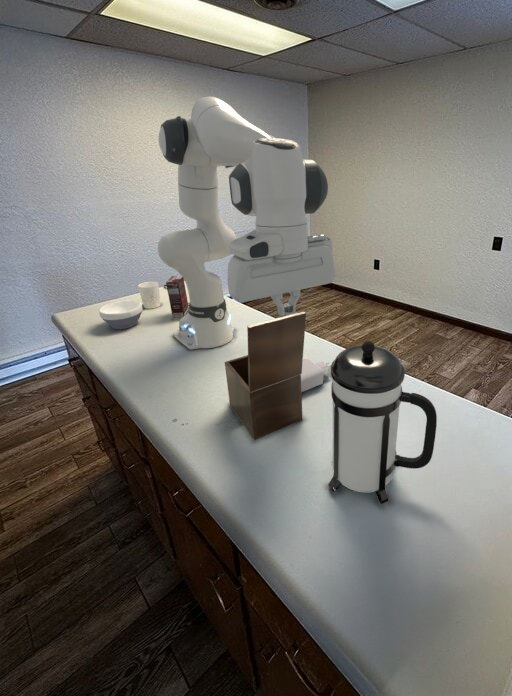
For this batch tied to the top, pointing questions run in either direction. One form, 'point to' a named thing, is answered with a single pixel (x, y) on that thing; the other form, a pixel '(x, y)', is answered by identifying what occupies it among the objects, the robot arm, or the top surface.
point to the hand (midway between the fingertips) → (286, 313)
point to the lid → (275, 350)
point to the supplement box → (177, 297)
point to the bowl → (121, 313)
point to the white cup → (150, 294)
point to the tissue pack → (312, 374)
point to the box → (263, 400)
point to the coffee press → (371, 419)
